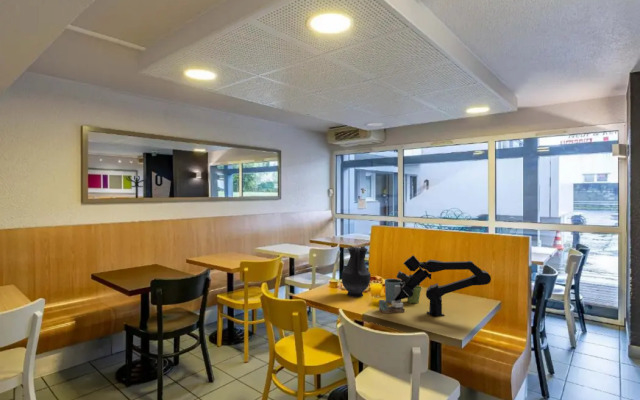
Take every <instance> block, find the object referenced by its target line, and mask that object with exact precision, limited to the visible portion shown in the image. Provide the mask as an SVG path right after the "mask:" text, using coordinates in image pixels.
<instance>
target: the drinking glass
mask: <svg viewBox="0 0 640 400" xmlns="http://www.w3.org/2000/svg"><path fill="white" fill-rule="evenodd" d="M400 282H401V279H398V278H386V279H384V289H385V301H386V302H387V304H388V303H389V304H392V301H395V300H394V299H395V296H394V294H395V285H399V286H400ZM401 283H402V282H401ZM400 302H402V299H401V300H400Z"/></svg>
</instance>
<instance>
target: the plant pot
mask: <svg viewBox="0 0 640 400" xmlns="http://www.w3.org/2000/svg"><path fill="white" fill-rule="evenodd" d="M422 288H423V287H422V286H420V285H419V286H417V287H415V288H414V290H413V296H412V297H409V298H406V299H407V302H408V303H410V304H418V303H420V296H421V292H422Z"/></svg>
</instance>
